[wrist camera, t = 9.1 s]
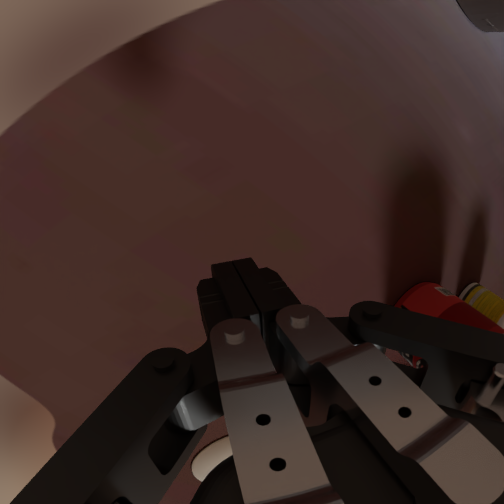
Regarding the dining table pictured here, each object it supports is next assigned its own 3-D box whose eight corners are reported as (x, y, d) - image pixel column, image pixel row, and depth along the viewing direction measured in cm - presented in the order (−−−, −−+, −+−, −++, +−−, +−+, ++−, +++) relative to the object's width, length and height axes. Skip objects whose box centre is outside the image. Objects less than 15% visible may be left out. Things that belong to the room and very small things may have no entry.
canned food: (380, 304, 27) (464, 378, 17) (439, 265, 28) (523, 318, 18) (384, 357, 30) (449, 425, 20) (438, 319, 31) (504, 373, 21)
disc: (178, 446, 26) (178, 447, 26) (302, 412, 29) (303, 413, 29) (204, 492, 32) (204, 493, 32) (299, 466, 35) (300, 467, 35)
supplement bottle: (450, 301, 31) (511, 345, 22) (477, 272, 31) (537, 310, 22) (452, 328, 33) (505, 371, 25) (477, 301, 34) (530, 338, 25)
